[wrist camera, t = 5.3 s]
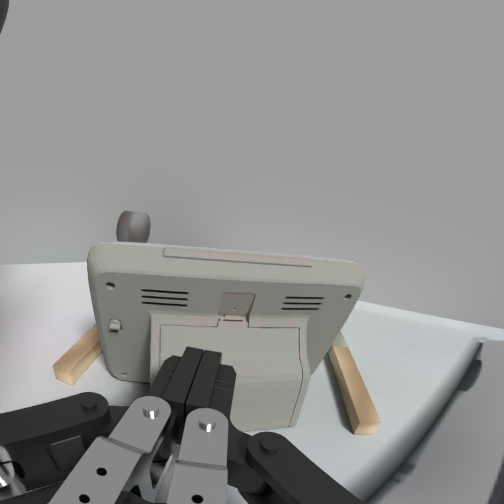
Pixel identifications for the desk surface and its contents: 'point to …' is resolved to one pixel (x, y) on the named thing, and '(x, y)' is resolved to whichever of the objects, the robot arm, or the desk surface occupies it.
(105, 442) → the robot arm
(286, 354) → the digital clock
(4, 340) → the desk surface
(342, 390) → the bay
